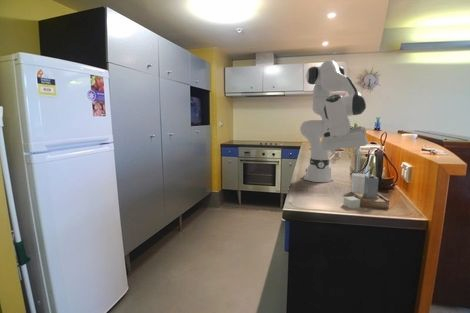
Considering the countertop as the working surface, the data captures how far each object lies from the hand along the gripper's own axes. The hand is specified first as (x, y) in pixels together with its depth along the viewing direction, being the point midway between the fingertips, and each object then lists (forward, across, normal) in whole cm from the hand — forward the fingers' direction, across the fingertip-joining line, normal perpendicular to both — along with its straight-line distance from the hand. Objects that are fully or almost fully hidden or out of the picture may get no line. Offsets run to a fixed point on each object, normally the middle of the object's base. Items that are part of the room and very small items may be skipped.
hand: (347, 155), depth 129 cm
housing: (+21, -7, +5) cm, 22 cm away
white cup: (+27, +2, -11) cm, 29 cm away
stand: (+24, -7, +6) cm, 25 cm away
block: (+20, 0, +14) cm, 24 cm away
